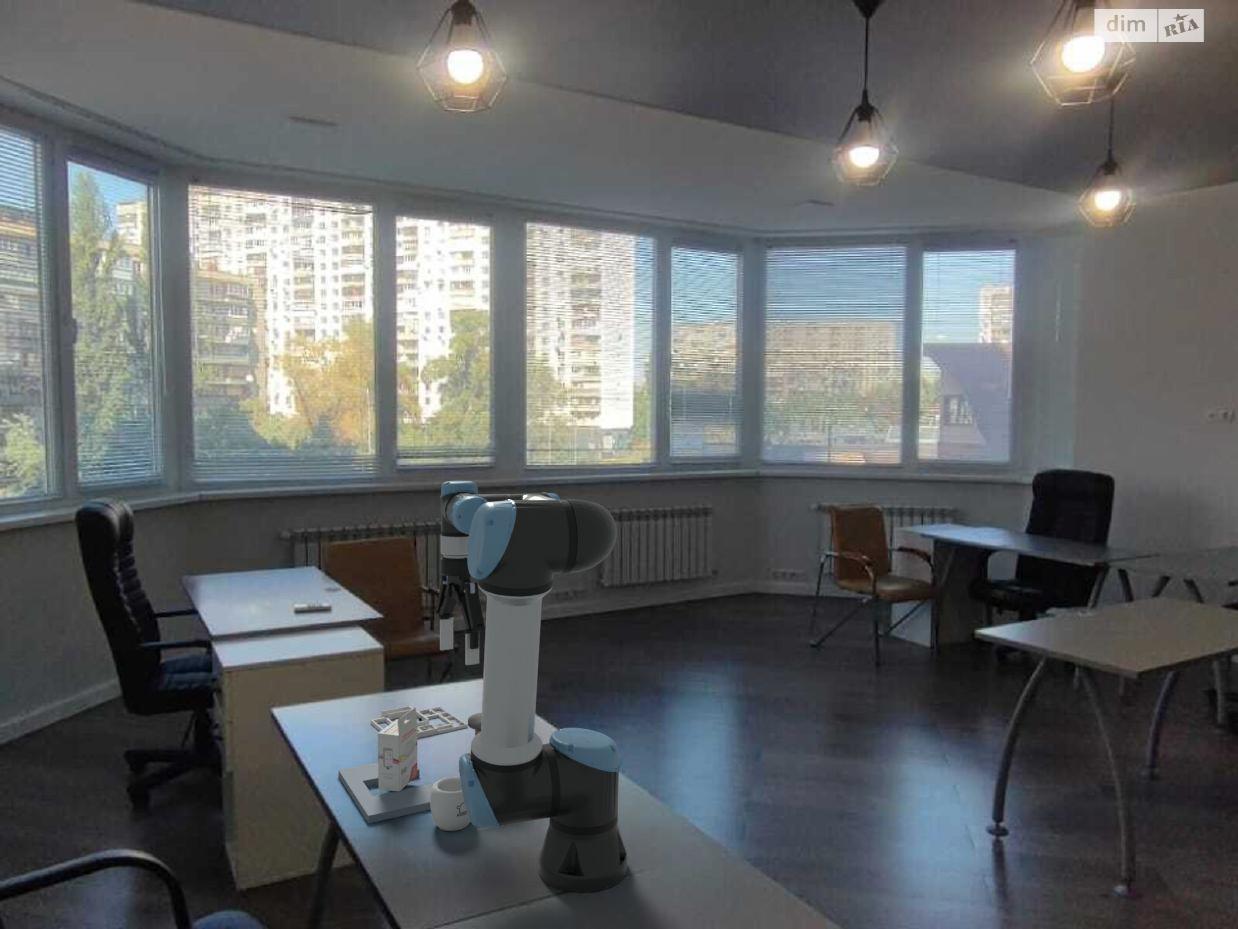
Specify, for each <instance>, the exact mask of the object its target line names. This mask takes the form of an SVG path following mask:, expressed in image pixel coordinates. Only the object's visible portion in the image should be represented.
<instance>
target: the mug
mask: <svg viewBox="0 0 1238 929" xmlns="http://www.w3.org/2000/svg"><path fill="white" fill-rule="evenodd" d="M430 808H431V809H430V812H431V816H432V820H433V823H434V824H435V826H436V827H437V828H438V829H440V830H442V831H448V832H453V831H454V832H455V831H459V830H462V829H464V828H466V827H468V826H469V824H470V823H471V821H470V819H469V817H468V814H467V810H466V807H465V802H464V798H463V792H462V787H461V780H460V776H449V777H444V778H441V779H438V780H437V781H435V782H434V783H433V787H432V789H431V795H430Z"/></svg>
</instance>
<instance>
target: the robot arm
mask: <svg viewBox="0 0 1238 929" xmlns="http://www.w3.org/2000/svg"><path fill="white" fill-rule="evenodd" d="M440 490H441V491H440V496H439V500H440V515H441V516H440V530H441V532H440V554H441V555H443V556H441V557H440V574H441V576H440V587H439V592H438V596H437V601H436V602H437V603H436V606H435V612H434V613H435V614H436V615H438V618H439V650H440V651H447V650H453V649H454V618H455V615H454V613H453V612H454V611H455V608H456V605H458V606H460V610H461V614H462V617H463V620H464V623H465V626H466V629H465V631H464V632H463V633H464V635H465V638H464V640H465V641H464V642H465V644H464V645H465V648H464V649H465V650H464V651H465V655H464V656H465V658H464V659H465V660H464V661H465V664H464V665H465V666H472V665H478V664H480V633H481V632H483V631H485V634H484V636H485V637H484V658H483V660H484V661H483V676H482V677H483V681H482V702H481V713H482V720H481V732H480V733H478V734H477V735H476V736H475V735H474V737H473V738H472V740H471V742H470V753H469V752H465V753H464V754H462V755H460V757H459V760H458V769H459V770H458V772H459V777H460V780H461V787H462V792H463V798H464V802H465V807H466V810H467V814H468V817H469V819H470V821H471V822H470V823H471V824H472V826H474V827H476V828H479V829H485V828H493V827H496V828H501V827H502V826H507V825H513V824H519V823H526V822H531V821H536V820H543V819H549V826H548V828H547V830H546V833H545V837H544V840H543V842H542V845H541V846H542V847H541V849H540V852H539V853H538V854H539V855H538V873H539V876H540V877H541V878H542V880H544V882H546V883H547V884H548V885H550V886H552V887H553V888H556V889H560V890H562V891H563V890H564V891H568V892H573V893H591V892H597V891H602V890H606V889H609V888H611V887H613V886H616V885H617V884H619V883H620V882H621V881H622V880H623V879H624V878H625V876H627V873H628V853H627V850H626V847H625V843H624V839H623V837H622V833H621V830H620V827H619V822H618V820H619V819H618V818H619V779H620V778H619V777H620V774H619V773H620V769H621V766H620V764H619V762H620V761H619V749H618V748H619V747H618V745H617V743H616V742H615V741H614V740H613V739H612V738H611V737H610V736H608V735H606V734H604V733H602V732H599V731H596V730H592V729H586V728H580V727H564V728H559V729H557V730H554V731H553V732H552V733H551V735H550V737H549V739H548V740H549V743H543V740H542V739H541V737H540V736H539V735H538V734H537V733H536V732H535V727H536V726H535V725H536V708H537V707H536V706H537V704H536V703H537V692H538V691H537V689H538V672H539V671H538V670H539V655H540V654H539V653H540V640H541V639H540V637H541V621H542V619H541V618H542V606H543V605H542V604H543V603H542V602H543V598H544V597H545V596H546V595H547V594H549V593H550V592H551V591H552V589H553V583H554V575H558V574H559V575H560V574H562V575H563V574H573V573H574V574H575V573H580V572H584V571H586V570H590V569H592V568H594V567H596V566H597V565H599V564H601V563H602V562H603V561H604V560H605V559H606V558H607V557H608V556H609V555H610V554H611V552H612V551H613V549H614V547H615V544H616V542H617V536H618V535H617V534H618V529H617V524H616V521H615V519H614V517H613V515H612V513H611V512H610V511H609V509H607V508H606V507H604V506H603V505H601V504H599V503H597V502H594V501H589V500H584V499H577V498H574V499H573V498H566V499H560V495H558V494H556V493H553V492H552V493H551V492H549V493H548V492H538V493H537V492H536V493H486V494H484V493H481V494H480V493H479V488H478V484H477V482H475V481H471V480H449V481H444V482H443V483H442V484H441V489H440ZM471 577H472V578H474V579H476V580H477V582H472V581H471ZM479 590H481V592H482V593H483V594H484V595H486V609H485V610H486V612H485V615H486V616H485V621H484V616H483V610H482V606H481V599H480V595H479Z"/></svg>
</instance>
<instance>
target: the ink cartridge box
mask: <svg viewBox="0 0 1238 929" xmlns="http://www.w3.org/2000/svg"><path fill="white" fill-rule="evenodd" d="M412 708H413V709H412V710H411V711H409V712H408V713H406V714H405V715H404V716H402V717H401V718H397V719H394V721H392V723H391V724H390V725H389V724H388V725H387V726H386V727H384V728H383V730H382V731H378V732H377V762H378V781H379V785H377V786H378V790H381V791H391V792H394V791H401V790H404V788H405V787H406V786H407V785H408V784H409V783H410V782H412V781H413V779H414V778H416V777H415V776H416V775H417V767H418V738H417V722H418V719H417V716H416V710H417V709H416V707H412ZM407 718H408V719H410V720H407Z"/></svg>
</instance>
